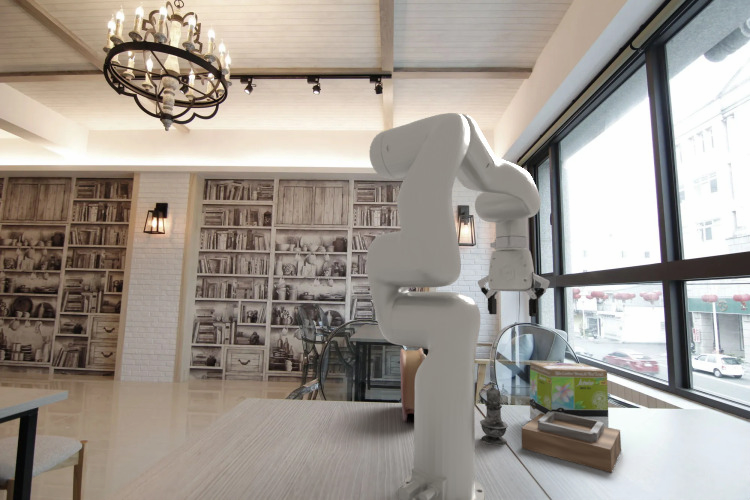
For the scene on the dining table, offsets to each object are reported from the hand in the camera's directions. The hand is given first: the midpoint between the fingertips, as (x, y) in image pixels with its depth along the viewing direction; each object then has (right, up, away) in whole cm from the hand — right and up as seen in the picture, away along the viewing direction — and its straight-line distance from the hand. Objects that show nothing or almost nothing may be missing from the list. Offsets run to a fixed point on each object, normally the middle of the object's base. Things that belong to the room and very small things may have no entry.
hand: (512, 315), depth 90 cm
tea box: (+15, -28, +2) cm, 32 cm away
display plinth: (+8, -26, -12) cm, 30 cm away
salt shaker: (-7, -26, -9) cm, 29 cm away
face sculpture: (-24, -28, +7) cm, 37 cm away
